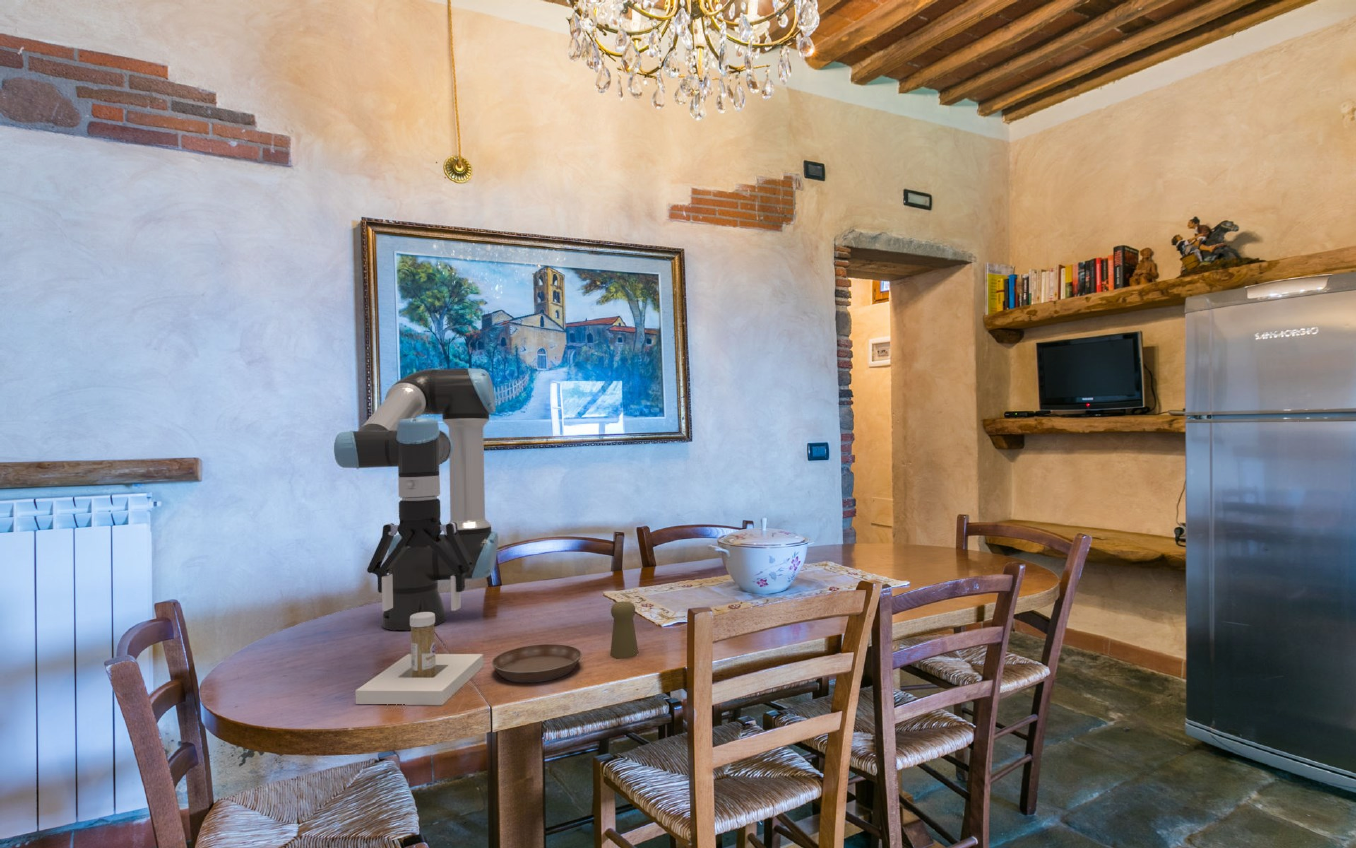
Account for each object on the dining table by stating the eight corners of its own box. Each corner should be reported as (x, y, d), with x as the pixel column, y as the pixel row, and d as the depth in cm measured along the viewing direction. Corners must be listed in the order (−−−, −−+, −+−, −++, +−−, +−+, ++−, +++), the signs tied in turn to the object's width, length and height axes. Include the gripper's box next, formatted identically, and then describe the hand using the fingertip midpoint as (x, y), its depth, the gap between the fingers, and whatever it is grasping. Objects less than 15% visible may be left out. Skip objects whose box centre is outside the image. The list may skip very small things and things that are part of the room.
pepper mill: (616, 660, 145) (615, 607, 145) (605, 652, 150) (604, 601, 150) (643, 655, 147) (641, 603, 147) (631, 647, 153) (630, 597, 153)
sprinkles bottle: (435, 687, 132) (433, 616, 132) (409, 689, 131) (407, 618, 131) (437, 678, 137) (436, 610, 137) (413, 681, 136) (411, 612, 136)
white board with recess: (408, 666, 144) (408, 654, 144) (483, 666, 143) (483, 654, 143) (355, 704, 125) (355, 690, 125) (442, 705, 123) (441, 691, 123)
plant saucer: (486, 665, 145) (486, 650, 145) (569, 652, 152) (569, 638, 152) (499, 694, 128) (499, 677, 128) (592, 678, 135) (592, 662, 135)
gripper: (346, 501, 131) (348, 614, 131) (475, 498, 129) (477, 613, 129) (367, 497, 139) (369, 604, 138) (489, 495, 137) (491, 604, 136)
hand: (421, 609), depth 134 cm, fingers open, 13 cm apart
